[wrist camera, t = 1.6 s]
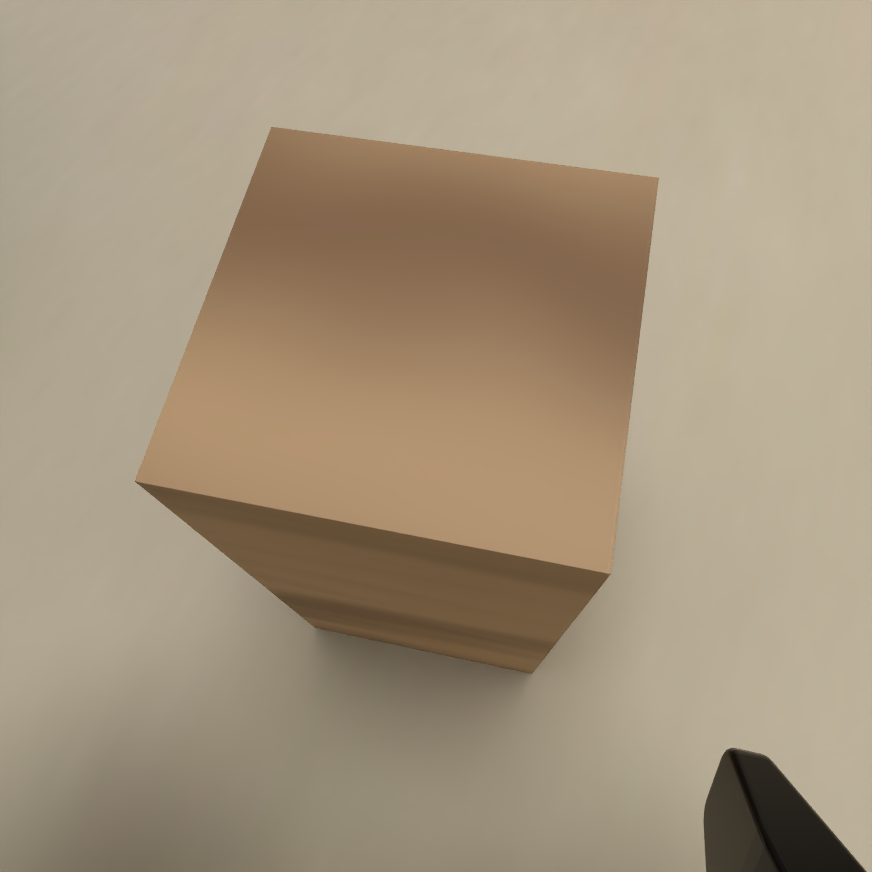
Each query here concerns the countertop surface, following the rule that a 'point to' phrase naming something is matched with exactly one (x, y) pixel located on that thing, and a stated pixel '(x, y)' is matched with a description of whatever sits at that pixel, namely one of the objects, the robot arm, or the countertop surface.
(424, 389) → the block
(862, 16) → the countertop surface
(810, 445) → the countertop surface
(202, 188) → the countertop surface
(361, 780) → the countertop surface
